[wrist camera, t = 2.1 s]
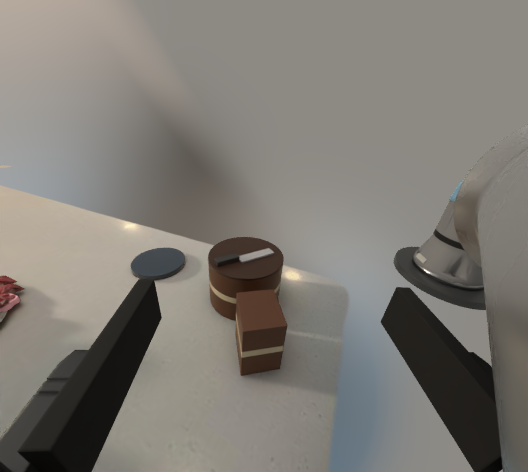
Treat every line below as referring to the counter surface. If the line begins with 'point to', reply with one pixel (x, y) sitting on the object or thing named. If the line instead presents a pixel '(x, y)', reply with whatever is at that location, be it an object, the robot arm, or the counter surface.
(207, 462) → the counter surface
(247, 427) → the counter surface
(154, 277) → the plate
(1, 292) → the candy landscape model
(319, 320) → the counter surface
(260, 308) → the cake slice
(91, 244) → the counter surface
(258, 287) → the cake
